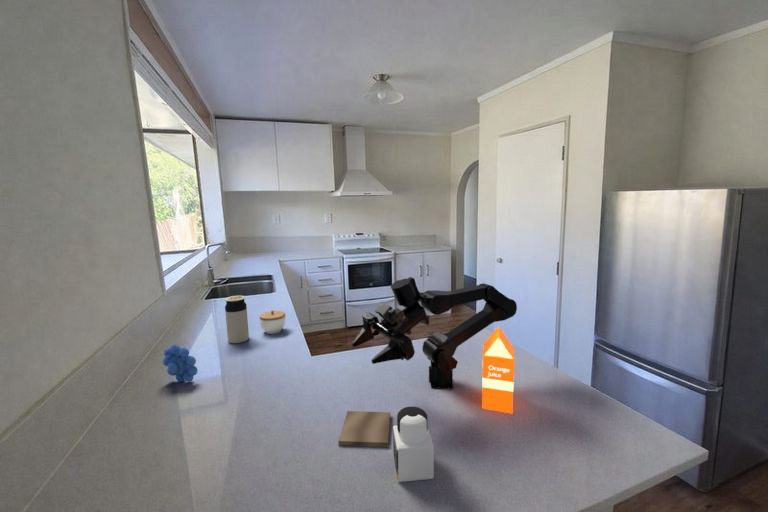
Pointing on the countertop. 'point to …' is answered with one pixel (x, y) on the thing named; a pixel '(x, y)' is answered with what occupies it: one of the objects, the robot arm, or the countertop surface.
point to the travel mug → (236, 319)
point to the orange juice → (498, 373)
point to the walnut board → (365, 429)
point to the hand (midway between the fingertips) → (361, 353)
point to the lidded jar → (272, 321)
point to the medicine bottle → (413, 446)
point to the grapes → (180, 363)
